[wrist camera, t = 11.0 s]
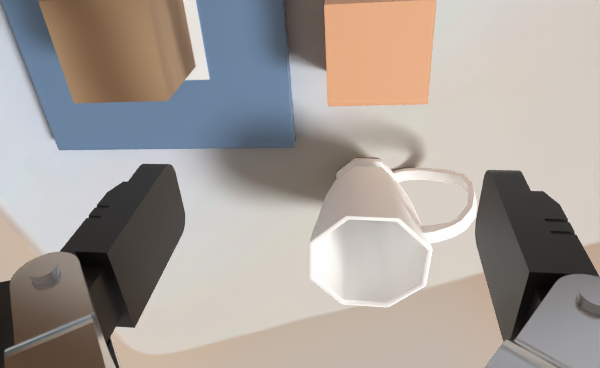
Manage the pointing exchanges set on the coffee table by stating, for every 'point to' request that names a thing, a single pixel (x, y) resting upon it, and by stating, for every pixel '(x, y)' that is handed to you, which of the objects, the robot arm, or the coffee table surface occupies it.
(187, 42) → the walnut block
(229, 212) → the coffee table surface
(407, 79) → the terracotta block
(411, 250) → the cup
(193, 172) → the coffee table surface
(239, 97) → the board
